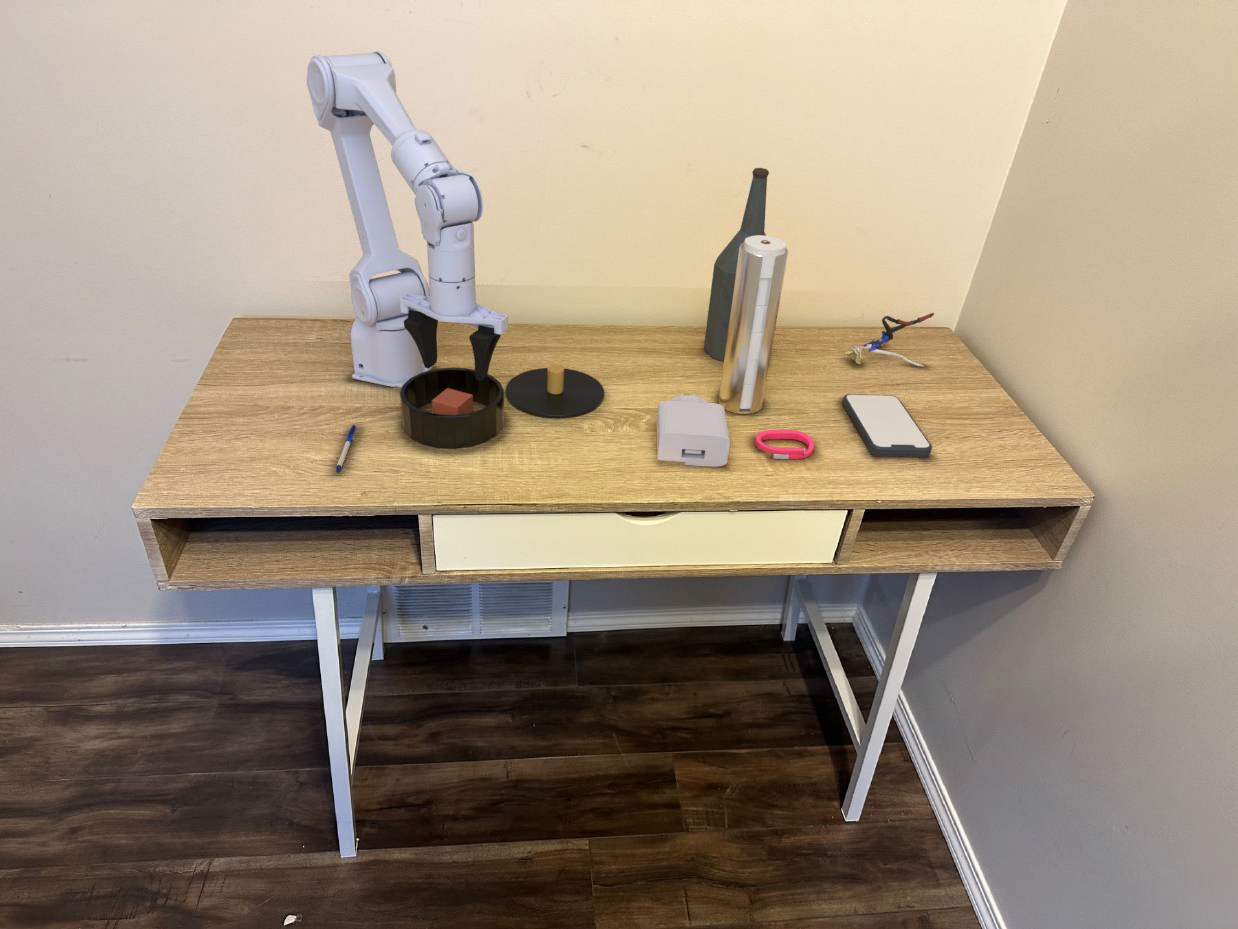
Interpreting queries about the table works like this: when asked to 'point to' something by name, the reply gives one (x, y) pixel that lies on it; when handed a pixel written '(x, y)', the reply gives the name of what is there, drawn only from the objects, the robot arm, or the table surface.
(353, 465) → the table surface
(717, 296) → the bottle
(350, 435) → the ballpoint pen
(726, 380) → the silver metal cylinder
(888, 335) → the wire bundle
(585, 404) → the tin lid
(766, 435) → the fitness band
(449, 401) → the block
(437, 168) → the robot arm
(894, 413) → the smartphone
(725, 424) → the charger
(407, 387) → the tin
